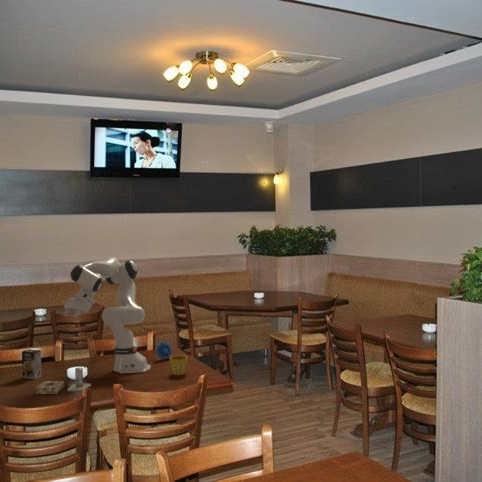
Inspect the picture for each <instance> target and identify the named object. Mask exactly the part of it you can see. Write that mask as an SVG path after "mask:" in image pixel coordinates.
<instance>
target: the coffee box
mask: <svg viewBox="0 0 482 482" xmlns="http://www.w3.org/2000/svg"><path fill="white" fill-rule="evenodd" d="M21 366H22V378H23V379H29V380H36V379H37V380H38V379H39V378H41V377H42V351H41V350H39V349H31V348H29V349H25V350H22V351H21Z"/></svg>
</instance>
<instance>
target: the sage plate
mask: <svg viewBox="0 0 482 482" xmlns="http://www.w3.org/2000/svg"><path fill="white" fill-rule="evenodd" d="M91 386H92V383H83V387H76V383H73V384H72V385H70V387H68V388H67V392H83V391H82V390H83V389H84V388H87V387H89V388H90V387H91Z"/></svg>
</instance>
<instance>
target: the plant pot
mask: <svg viewBox="0 0 482 482" xmlns="http://www.w3.org/2000/svg"><path fill="white" fill-rule="evenodd" d="M169 364H170V366H171V369H172V374H173V375H174V376H182V375H185V373H186V367H187V364H188V356H186V355H173V356H170V358H169Z"/></svg>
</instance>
